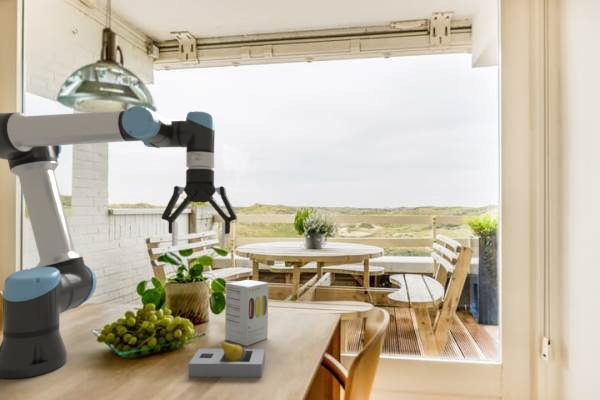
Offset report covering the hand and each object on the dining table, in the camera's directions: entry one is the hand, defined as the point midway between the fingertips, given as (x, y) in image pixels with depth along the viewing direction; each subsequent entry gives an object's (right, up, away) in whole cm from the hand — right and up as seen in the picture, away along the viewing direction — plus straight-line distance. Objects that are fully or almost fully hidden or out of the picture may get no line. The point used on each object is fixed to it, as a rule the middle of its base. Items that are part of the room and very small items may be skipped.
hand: (199, 245), depth 113 cm
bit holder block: (+10, -29, -12) cm, 33 cm away
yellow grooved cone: (+12, -28, -12) cm, 33 cm away
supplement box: (+12, -29, +10) cm, 33 cm away
